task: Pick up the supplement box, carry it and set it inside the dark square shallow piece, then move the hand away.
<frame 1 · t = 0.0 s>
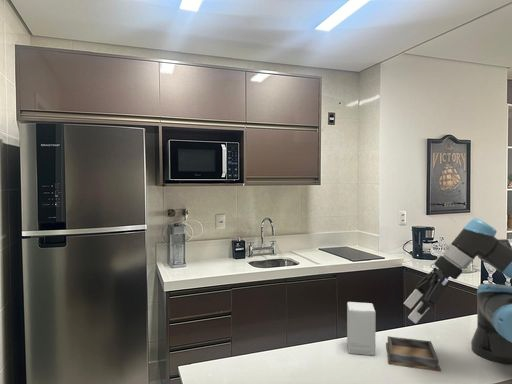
hand: (409, 312, 115), 15 cm above the countertop, tool tilted 35°, fingers open, 13 cm apart
supplement box: (360, 349, 123), on the countertop
dark square shallow piece: (411, 356, 118), on the countertop
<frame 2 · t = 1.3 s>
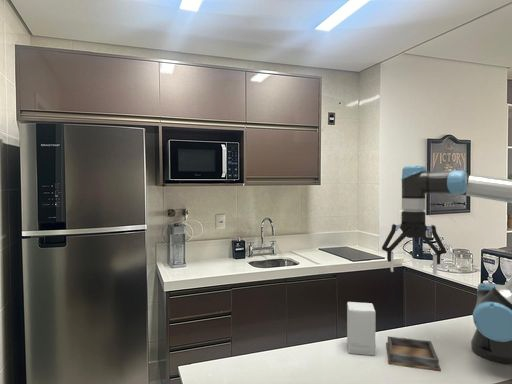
hand: (413, 272, 122), 27 cm above the countertop, tool pointing down, fingers open, 13 cm apart
nothing on the countertop moved.
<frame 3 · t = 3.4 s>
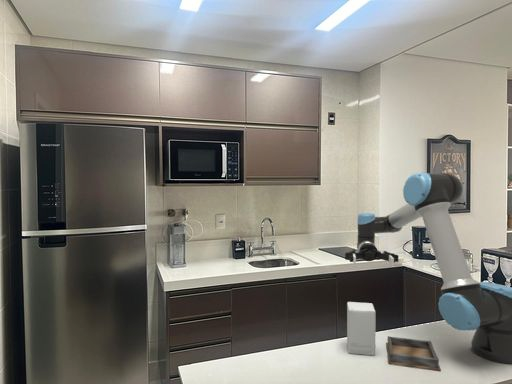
hand: (373, 261, 134), 28 cm above the countertop, tool horizontal, fingers open, 13 cm apart
nothing on the countertop moved.
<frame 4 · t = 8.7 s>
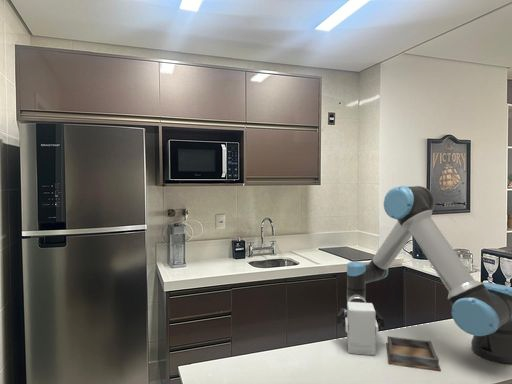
hand: (361, 329, 119), 9 cm above the countertop, tool horizontal, fingers closed on supplement box, 9 cm apart
supplement box: (360, 349, 123), on the countertop, touching gripper
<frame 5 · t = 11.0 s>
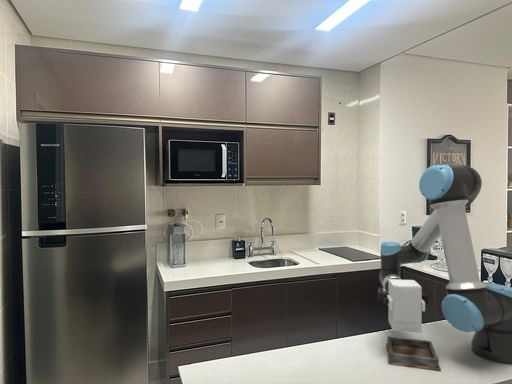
hand: (407, 306, 114), 18 cm above the countertop, tool horizontal, fingers closed on supplement box, 9 cm apart
supplement box: (404, 327, 119), point 9 cm above the countertop, touching gripper
when the fingers open (11 cm above the countertop, at t = 13.5 s): supplement box drops 1 cm, resting on dark square shallow piece.
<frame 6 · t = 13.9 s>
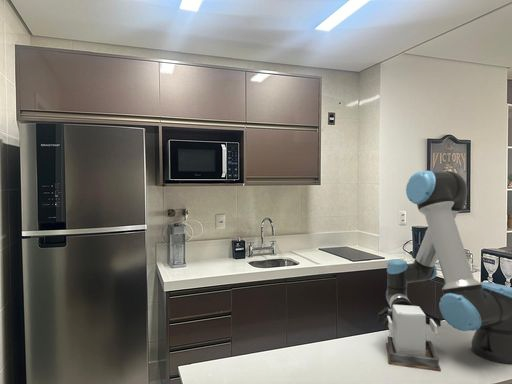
hand: (413, 328, 114), 11 cm above the countertop, tool horizontal, fingers open, 13 cm apart
supplement box: (408, 354, 118), resting on dark square shallow piece
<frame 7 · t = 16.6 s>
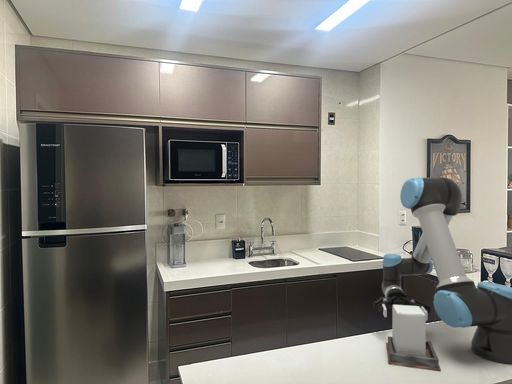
hand: (405, 315, 126), 11 cm above the countertop, tool horizontal, fingers open, 13 cm apart
nothing on the countertop moved.
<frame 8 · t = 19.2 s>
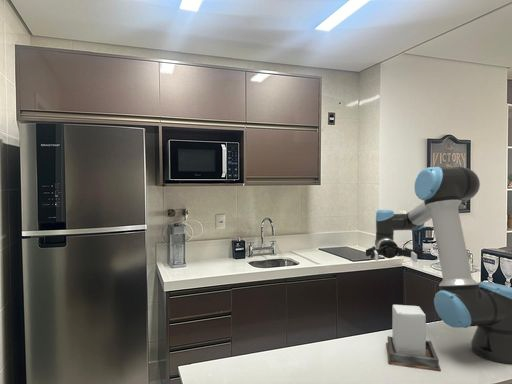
hand: (396, 257, 131), 30 cm above the countertop, tool horizontal, fingers open, 13 cm apart
nothing on the countertop moved.
at the end: supplement box 0.9 cm off-centre on the dark square shallow piece, point 0.4 cm above the dark square shallow piece's base; supplement box tilted 0°; the gripper is holding nothing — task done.
